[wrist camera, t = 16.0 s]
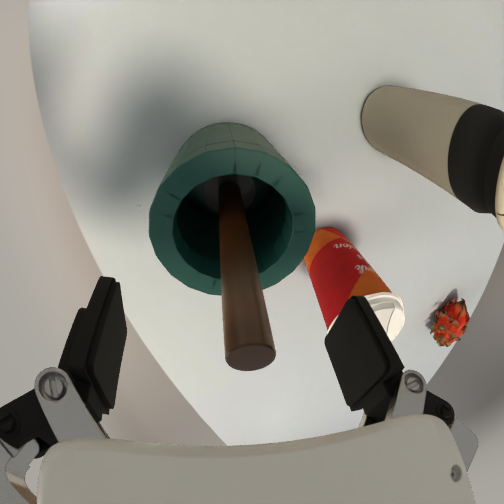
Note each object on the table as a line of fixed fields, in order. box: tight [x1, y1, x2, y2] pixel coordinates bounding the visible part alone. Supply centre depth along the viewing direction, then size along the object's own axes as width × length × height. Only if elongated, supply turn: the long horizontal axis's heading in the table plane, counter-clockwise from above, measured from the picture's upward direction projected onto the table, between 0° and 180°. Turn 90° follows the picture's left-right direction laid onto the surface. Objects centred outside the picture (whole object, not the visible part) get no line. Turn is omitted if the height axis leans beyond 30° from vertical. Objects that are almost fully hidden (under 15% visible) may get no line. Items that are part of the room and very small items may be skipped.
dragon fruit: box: [430, 298, 470, 347], centre depth 43 cm, size 8×8×12 cm
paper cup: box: [304, 227, 405, 341], centre depth 27 cm, size 8×8×14 cm
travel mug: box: [362, 86, 504, 230], centre depth 17 cm, size 8×8×18 cm
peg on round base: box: [202, 174, 276, 371], centre depth 17 cm, size 4×4×20 cm
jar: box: [149, 122, 315, 295], centre depth 21 cm, size 10×10×12 cm
